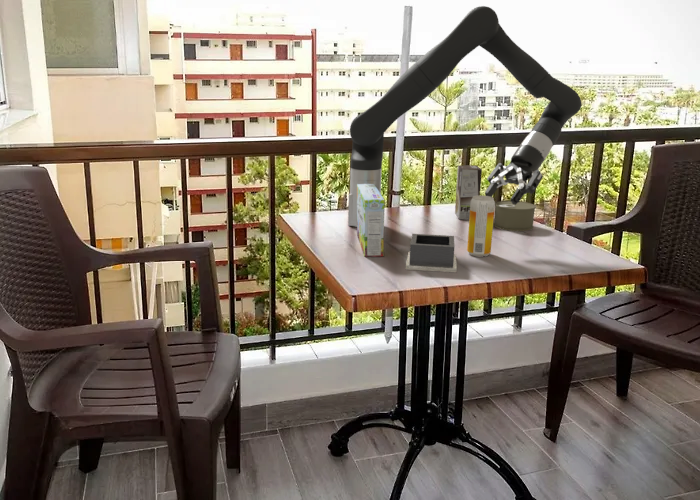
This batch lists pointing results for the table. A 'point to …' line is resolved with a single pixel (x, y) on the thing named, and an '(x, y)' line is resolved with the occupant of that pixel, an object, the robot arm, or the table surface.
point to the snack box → (370, 220)
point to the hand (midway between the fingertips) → (499, 199)
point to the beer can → (480, 225)
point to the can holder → (431, 253)
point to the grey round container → (514, 216)
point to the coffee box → (467, 189)
